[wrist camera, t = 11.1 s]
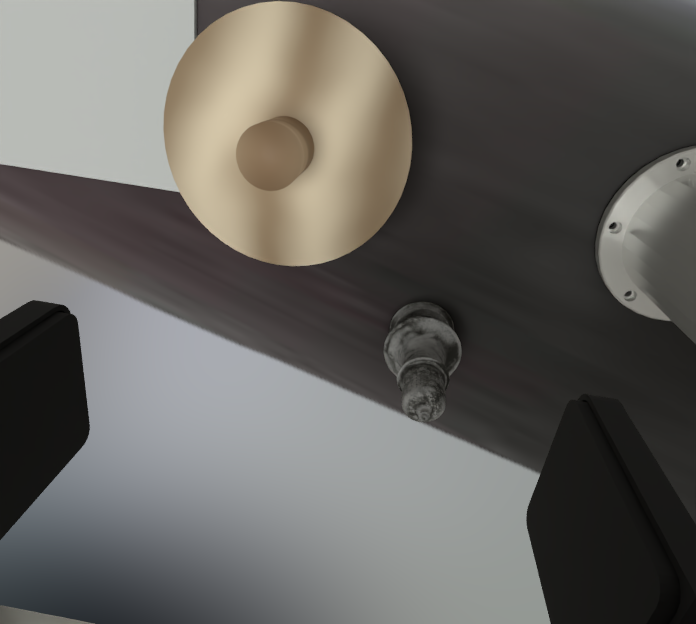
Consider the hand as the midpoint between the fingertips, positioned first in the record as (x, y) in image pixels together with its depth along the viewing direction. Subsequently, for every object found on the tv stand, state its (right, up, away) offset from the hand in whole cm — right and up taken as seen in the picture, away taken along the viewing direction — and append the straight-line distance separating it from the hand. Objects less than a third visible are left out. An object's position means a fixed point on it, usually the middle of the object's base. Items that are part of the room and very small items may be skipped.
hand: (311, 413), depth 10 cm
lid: (-3, +12, +22) cm, 25 cm away
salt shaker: (+7, 0, +33) cm, 34 cm away
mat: (-18, +20, +27) cm, 38 cm away
